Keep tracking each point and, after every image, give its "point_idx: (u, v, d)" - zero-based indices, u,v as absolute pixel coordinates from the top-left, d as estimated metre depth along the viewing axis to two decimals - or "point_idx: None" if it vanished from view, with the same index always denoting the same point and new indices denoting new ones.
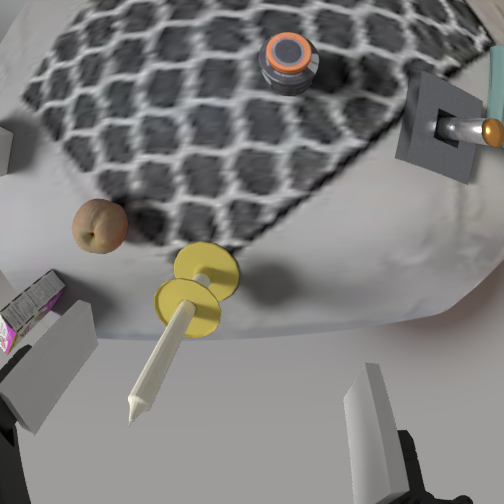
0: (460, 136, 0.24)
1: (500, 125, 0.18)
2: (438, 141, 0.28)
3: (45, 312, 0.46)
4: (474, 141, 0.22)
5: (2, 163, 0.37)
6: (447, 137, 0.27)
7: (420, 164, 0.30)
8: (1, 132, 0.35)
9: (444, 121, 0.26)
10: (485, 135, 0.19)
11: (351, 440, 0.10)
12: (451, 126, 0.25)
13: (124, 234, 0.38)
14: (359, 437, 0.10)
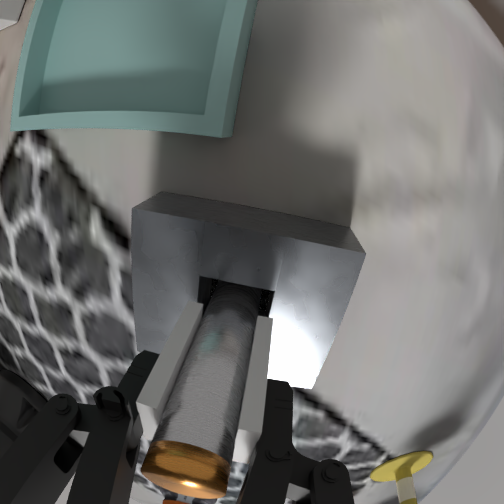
0: None
1: (151, 471, 0.07)
2: None
3: None
4: None
5: None
6: None
7: (317, 368, 0.17)
8: None
9: None
10: None
11: None
12: None
13: None
14: None
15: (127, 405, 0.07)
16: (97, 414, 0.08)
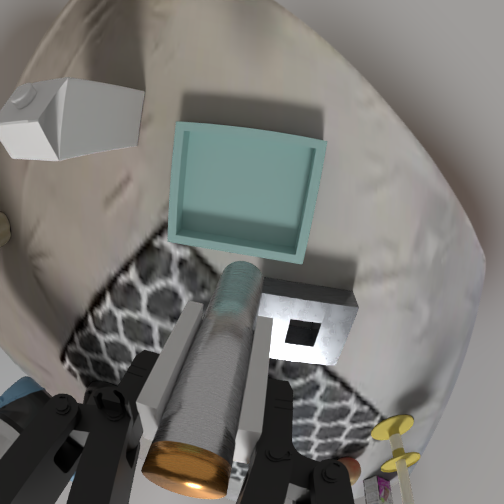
0: None
1: (152, 472, 0.07)
2: (316, 342, 0.36)
3: (386, 489, 0.57)
4: None
5: None
6: None
7: (338, 355, 0.37)
8: None
9: None
10: None
11: None
12: None
13: (353, 465, 0.51)
14: None
15: (127, 405, 0.07)
16: (97, 414, 0.08)
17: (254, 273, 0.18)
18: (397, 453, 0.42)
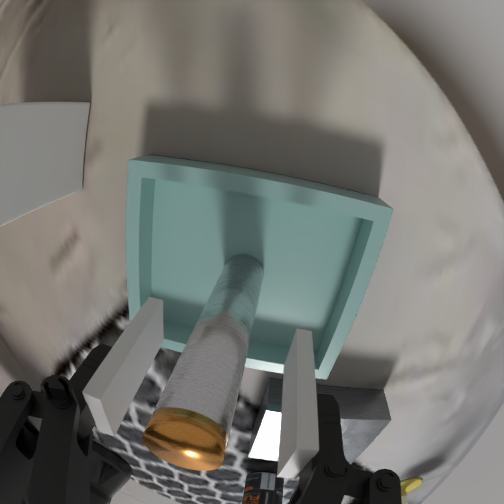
0: None
1: (153, 438, 0.08)
2: None
3: None
4: None
5: None
6: None
7: (355, 457, 0.25)
8: None
9: None
10: None
11: (283, 403, 0.12)
12: None
13: None
14: (287, 399, 0.11)
15: (71, 391, 0.07)
16: (48, 404, 0.07)
17: (255, 264, 0.19)
18: None
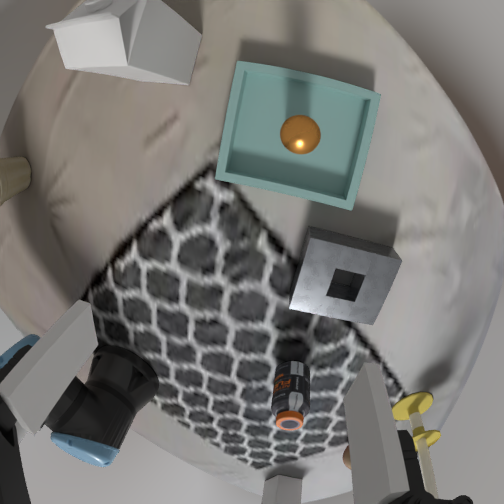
0: None
1: (287, 125, 0.19)
2: (358, 296, 0.35)
3: None
4: None
5: (294, 482, 0.66)
6: None
7: (377, 313, 0.36)
8: (274, 481, 0.66)
9: None
10: (307, 152, 0.19)
11: (351, 440, 0.10)
12: None
13: None
14: (359, 437, 0.10)
15: None
16: None
17: None
18: (418, 432, 0.42)
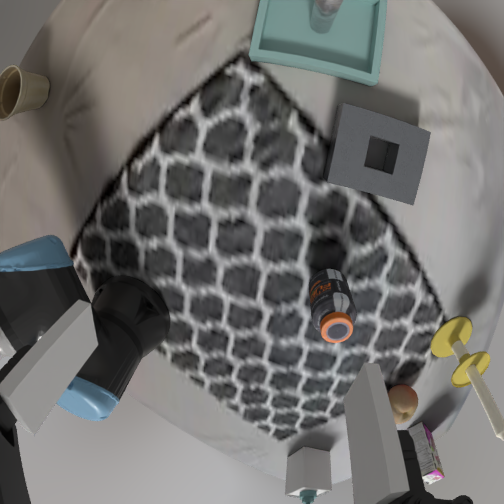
0: (337, 8, 0.21)
1: None
2: (395, 169, 0.32)
3: (432, 439, 0.53)
4: None
5: (322, 455, 0.61)
6: (335, 17, 0.24)
7: (415, 190, 0.33)
8: (300, 455, 0.61)
9: (319, 19, 0.24)
10: None
11: (351, 440, 0.10)
12: (327, 15, 0.23)
13: (411, 390, 0.47)
14: (359, 437, 0.10)
15: None
16: None
17: None
18: (466, 359, 0.38)
